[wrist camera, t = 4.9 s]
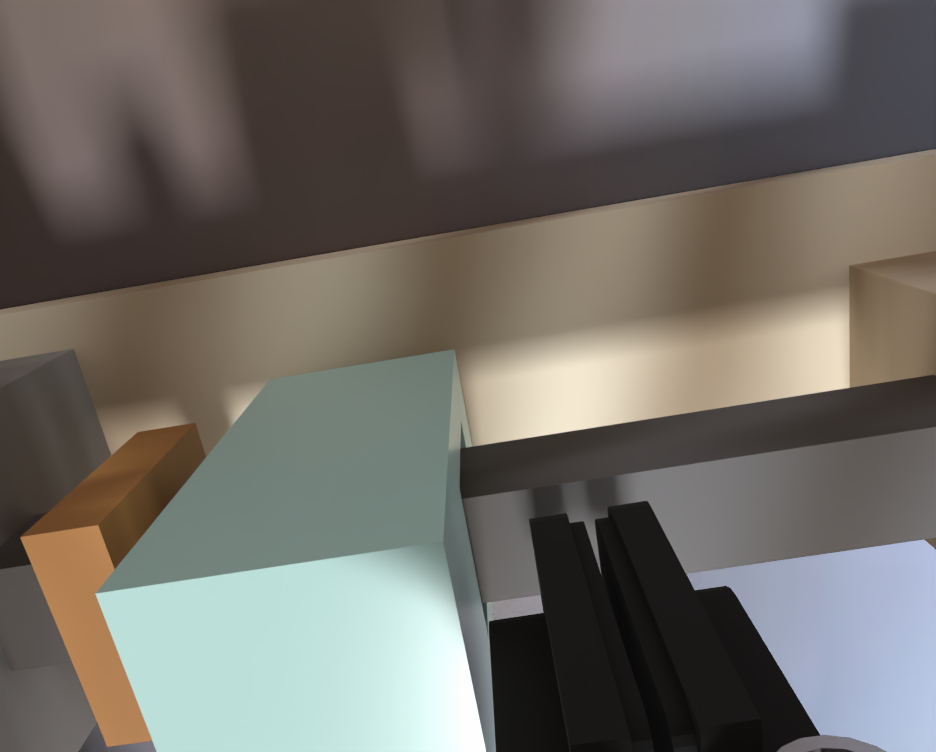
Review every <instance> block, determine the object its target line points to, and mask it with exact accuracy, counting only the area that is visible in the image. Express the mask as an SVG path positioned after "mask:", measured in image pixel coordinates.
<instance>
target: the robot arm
mask: <svg viewBox="0 0 936 752" xmlns="http://www.w3.org/2000/svg"><path fill="white" fill-rule="evenodd" d="M529 524H530V530H531V536H532V543H533V549H534V555H535V561H536V568H537V574H538V580H539V586H540V593H541V599H542V605H543V611H544V613H541V614H534V615H527V616H520V617H514V618H507V619H500V620H494V621H489V641H490V658H491V675H492V692H493V709H494V726H495V743H496V752H886V751H884V750H882V749H880V748H878V747H877V746H874V745H871V744H868V743H865V742H861V741H858V740H855V739H852V738H848V737H838V736H829V735H820V734H819V732H818V731H817V729H816V728H815V726H814V724H813V723H812V721H811V719H810V718H809V716H808V714H807V713H806V711H805V709H804V708H803V706H802V704H801V703H800V701H799V699H798V698H797V696H796V694H795V693H794V691H793V689H792V688H791V686H790V684H789V683H788V681H787V679H786V678H785V676H784V674H783V673H782V671H781V670H780V668H779V666H778V665H777V663H776V661H775V660H774V658H773V656H772V655H771V653H770V651H769V650H768V648H767V646H766V645H765V643H764V641H763V640H762V638H761V636H760V635H759V633H758V631H757V630H756V628H755V626H754V625H753V623H752V621H751V620H750V618H749V617H748V615H747V613H746V612H745V610H744V608H743V607H742V605H741V603H740V602H739V600H738V598H737V597H736V595H735V594H734V592H733V591H732V590H731V588H729V587H727V586H723V587H716V588H709V589H702V590H696V591H695V590H694V588H693V586H692V585H691V583H690V581H689V579H688V577H687V575H686V573H685V571H684V569H683V567H682V565H681V563H680V561H679V559H678V558H677V556H676V554H675V552H674V550H673V548H672V546H671V544H670V542H669V540H668V538H667V536H666V534H665V533H664V531H663V529H662V527H661V525H660V523H659V521H658V519H657V517H656V515H655V513H654V511H653V509H652V507H651V506H650V504H649V502H648V501H641V502H635V503H628V504H622V505H615V506H609V507H608V517H606V518H599V519H595V529H596V537H597V545H598V553H599V560H600V568H601V573H600V570H599V567H598V563H597V560H596V557H595V554H594V551H593V548H592V545H591V542H590V539H589V536H588V533H587V529H586V526H585V523H584V521H580V522H573V523H570V522H569V519H568V516H567V513H564V514H557V515H551V516H544V517H538V518H531V519H529Z"/></svg>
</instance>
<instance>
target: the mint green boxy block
mask: <svg viewBox="0 0 936 752" xmlns="http://www.w3.org/2000/svg"><path fill="white" fill-rule="evenodd" d="M467 447H472V443H471V438H470V432H469V427H468V421H467V416H466V410H465V405H464V399H463V394H462V388H461V383H460V377H459V372H458V366H457V361H456V355H455V350H454V349H453V350H447V351H440V352H434V353H428V354H422V355H416V356H410V357H404V358H398V359H391V360H385V361H379V362H373V363H367V364H361V365H355V366H349V367H342V368H336V369H330V370H324V371H318V372H312V373H306V374H299V375H293V376H287V377H281V378H275V379H270V380H269V381H268V382H267V383H266V385H265V386H264V387H263V388H262V390H261V391H260V392H259V393H258V395H257V396H256V397H255V398H254V399H253V401H252V402H251V403H250V404H249V406H248V407H247V408H246V409H245V410H244V412H243V413H242V414H241V415H240V417H239V418H238V419H237V420H236V422H235V423H234V424H233V425H232V426H231V428H230V429H229V430H228V431H227V433H226V434H225V435H224V436H223V437H222V439H221V440H220V441H219V442H218V444H217V445H216V446H215V447H214V448H213V450H212V451H211V452H210V453H209V455H208V456H207V457H206V458H205V460H204V461H203V462H202V463H201V464H200V466H199V467H198V468H197V469H196V471H195V472H194V473H193V474H192V475H191V477H190V478H189V479H188V480H187V482H186V483H185V484H184V485H183V487H182V488H181V489H180V490H179V491H178V493H177V494H176V495H175V496H174V498H173V499H172V500H171V501H170V502H169V504H168V505H167V506H166V507H165V509H164V510H163V511H162V512H161V514H160V515H159V516H158V517H157V518H156V520H155V521H154V522H153V523H152V525H151V526H150V527H149V528H148V529H147V531H146V532H145V533H144V534H143V536H142V537H141V538H140V539H139V540H138V542H137V543H136V544H135V545H134V547H133V548H132V549H131V550H130V552H129V553H128V554H127V555H126V556H125V558H124V559H123V560H122V561H121V563H120V564H119V565H118V566H117V567H116V569H115V570H114V571H113V572H112V574H111V575H110V576H109V577H108V579H107V580H106V581H105V582H104V583H103V585H102V586H101V587H100V588H99V590H98V591H97V592H96V593H95V594H96V597H97V600H98V602H99V605H100V607H101V610H102V612H103V615H104V618H105V620H106V623H107V625H108V628H109V630H110V633H111V636H112V638H113V641H114V643H115V646H116V648H117V651H118V654H119V656H120V659H121V661H122V664H123V666H124V669H125V672H126V674H127V677H128V679H129V682H130V684H131V687H132V689H133V692H134V695H135V697H136V700H137V702H138V705H139V707H140V710H141V713H142V715H143V718H144V720H145V723H146V725H147V728H148V731H149V733H150V736H151V738H152V741H153V743H154V746H155V749H156V751H157V752H496V743H495V726H494V709H493V692H492V675H491V658H490V641H489V621H493V605H492V602H487V603H482V602H481V597H480V592H479V587H478V581H477V576H476V571H475V566H474V561H473V555H472V550H471V545H470V540H469V535H468V529H467V524H466V519H465V514H464V509H463V503H462V498H461V493H460V448H467Z"/></svg>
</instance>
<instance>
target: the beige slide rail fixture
mask: <svg viewBox="0 0 936 752" xmlns="http://www.w3.org/2000/svg"><path fill="white" fill-rule="evenodd" d="M453 349H454V350H455V355H456V361H457V366H458V372H459V377H460V383H461V388H462V394H463V399H464V405H465V410H466V416H467V421H468V427H469V432H470V438H471V443H472V447H467V448H460V493H461V498H462V503H463V509H464V514H465V519H466V524H467V529H468V535H469V540H470V545H471V550H472V555H473V561H474V566H475V571H476V576H477V581H478V587H479V592H480V597H481V602H482V603H487V602H494V601H501V600H508V599H515V598H521V597H528V596H535V595H541V593H540V586H539V580H538V574H537V568H536V561H535V555H534V549H533V543H532V536H531V530H530V524H529V519H531V518H538V517H544V516H551V515H557V514H564V513H567V516H568V519H569V522H570V523H573V522H580V521H584V523H585V526H586V529H587V533H588V536H589V539H590V542H591V545H592V548H593V551H594V554H595V557H596V560H597V563H598V567H599V570H600V573H601V568H600V560H599V553H598V545H597V537H596V529H595V519H599V518H606V517H608V507H609V506H615V505H622V504H628V503H635V502H641V501H648V502H649V504H650V506H651V507H652V509H653V511H654V513H655V515H656V517H657V519H658V521H659V523H660V525H661V527H662V529H663V531H664V533H665V534H666V536H667V538H668V540H669V542H670V544H671V546H672V548H673V550H674V552H675V554H676V556H677V558H678V559H679V561H680V563H681V565H682V567H683V569H684V571H685V573H686V574H688V573H694V572H701V571H708V570H715V569H722V568H729V567H736V566H743V565H750V564H757V563H764V562H771V561H777V560H784V559H791V558H798V557H805V556H812V555H819V554H826V553H833V552H840V551H847V550H854V549H860V548H867V547H874V546H881V545H888V544H895V543H902V542H909V541H916V540H923V539H925V540H926V541H927V542H928V543H929V544H930V545H931V546H933V547H934V548H935V549H936V149H932V150H927V151H921V152H915V153H909V154H903V155H897V156H892V157H886V158H880V159H874V160H868V161H863V162H857V163H851V164H845V165H839V166H833V167H828V168H822V169H816V170H810V171H804V172H798V173H793V174H787V175H781V176H775V177H769V178H763V179H758V180H752V181H746V182H740V183H734V184H729V185H723V186H717V187H711V188H705V189H699V190H694V191H688V192H682V193H676V194H670V195H664V196H659V197H653V198H647V199H641V200H635V201H629V202H624V203H618V204H612V205H606V206H600V207H595V208H589V209H583V210H577V211H571V212H565V213H560V214H554V215H548V216H542V217H536V218H530V219H525V220H519V221H513V222H507V223H501V224H495V225H490V226H484V227H478V228H472V229H466V230H461V231H455V232H449V233H443V234H437V235H431V236H426V237H420V238H414V239H408V240H402V241H396V242H391V243H385V244H379V245H373V246H367V247H361V248H356V249H350V250H344V251H338V252H332V253H327V254H321V255H315V256H309V257H303V258H297V259H292V260H286V261H280V262H274V263H268V264H262V265H257V266H251V267H245V268H239V269H233V270H227V271H222V272H216V273H210V274H204V275H198V276H193V277H187V278H181V279H175V280H169V281H163V282H158V283H152V284H146V285H140V286H134V287H128V288H123V289H117V290H111V291H105V292H99V293H93V294H88V295H82V296H76V297H70V298H64V299H59V300H53V301H47V302H41V303H35V304H29V305H24V306H18V307H12V308H6V309H0V752H79V750H80V749H81V747H82V745H83V744H84V742H85V741H86V739H87V738H88V736H89V734H90V733H91V731H92V730H93V728H94V726H95V725H96V723H98V725H99V728H100V730H101V733H102V735H103V737H104V740H105V742H106V745H107V747H110V746H117V745H124V744H132V743H139V742H146V741H152V738H151V736H150V733H149V731H148V728H147V725H146V723H145V720H144V718H143V715H142V713H141V710H140V707H139V705H138V702H137V700H136V697H135V695H134V692H133V689H132V687H131V684H130V682H129V679H128V677H127V674H126V672H125V669H124V666H123V664H122V661H121V659H120V656H119V654H118V651H117V648H116V646H115V643H114V641H113V638H112V636H111V633H110V630H109V628H108V625H107V623H106V620H105V618H104V615H103V612H102V610H101V607H100V605H99V602H98V600H97V597H96V594H95V593H96V592H97V591H98V590H99V588H100V587H101V586H102V585H103V583H104V582H105V581H106V580H107V579H108V577H109V576H110V575H111V574H112V572H113V571H114V570H115V569H116V567H117V566H118V565H119V564H120V563H121V561H122V560H123V559H124V558H125V556H126V555H127V554H128V553H129V552H130V550H131V549H132V548H133V547H134V545H135V544H136V543H137V542H138V540H139V539H140V538H141V537H142V536H143V534H144V533H145V532H146V531H147V529H148V528H149V527H150V526H151V525H152V523H153V522H154V521H155V520H156V518H157V517H158V516H159V515H160V514H161V512H162V511H163V510H164V509H165V507H166V506H167V505H168V504H169V502H170V501H171V500H172V499H173V498H174V496H175V495H176V494H177V493H178V491H179V490H180V489H181V488H182V487H183V485H184V484H185V483H186V482H187V480H188V479H189V478H190V477H191V475H192V474H193V473H194V472H195V471H196V469H197V468H198V467H199V466H200V464H201V463H202V462H203V461H204V460H205V458H206V457H207V456H208V455H209V453H210V452H211V451H212V450H213V448H214V447H215V446H216V445H217V444H218V442H219V441H220V440H221V439H222V437H223V436H224V435H225V434H226V433H227V431H228V430H229V429H230V428H231V426H232V425H233V424H234V423H235V422H236V420H237V419H238V418H239V417H240V415H241V414H242V413H243V412H244V410H245V409H246V408H247V407H248V406H249V404H250V403H251V402H252V401H253V399H254V398H255V397H256V396H257V395H258V393H259V392H260V391H261V390H262V388H263V387H264V386H265V385H266V383H267V382H268V381H269V380H270V379H275V378H281V377H287V376H293V375H299V374H306V373H312V372H318V371H324V370H330V369H336V368H342V367H349V366H355V365H361V364H367V363H373V362H379V361H385V360H391V359H398V358H404V357H410V356H416V355H422V354H428V353H434V352H440V351H447V350H453Z"/></svg>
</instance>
